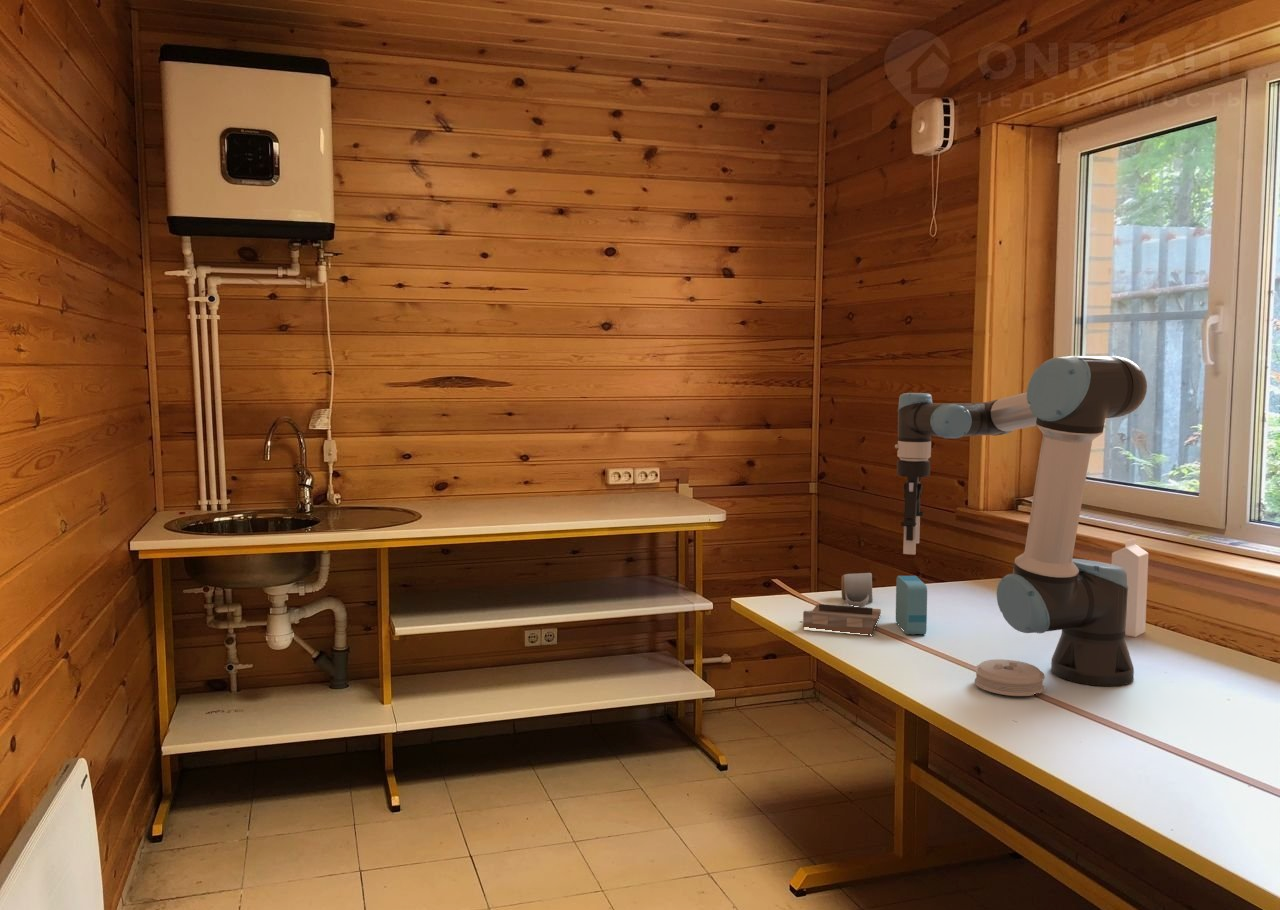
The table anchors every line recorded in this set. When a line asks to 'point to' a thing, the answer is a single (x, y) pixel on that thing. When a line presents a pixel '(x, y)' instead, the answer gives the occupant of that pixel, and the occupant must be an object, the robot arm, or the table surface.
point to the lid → (1009, 677)
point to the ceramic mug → (857, 588)
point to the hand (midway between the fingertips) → (911, 548)
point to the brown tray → (842, 618)
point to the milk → (1134, 584)
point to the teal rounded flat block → (911, 604)
